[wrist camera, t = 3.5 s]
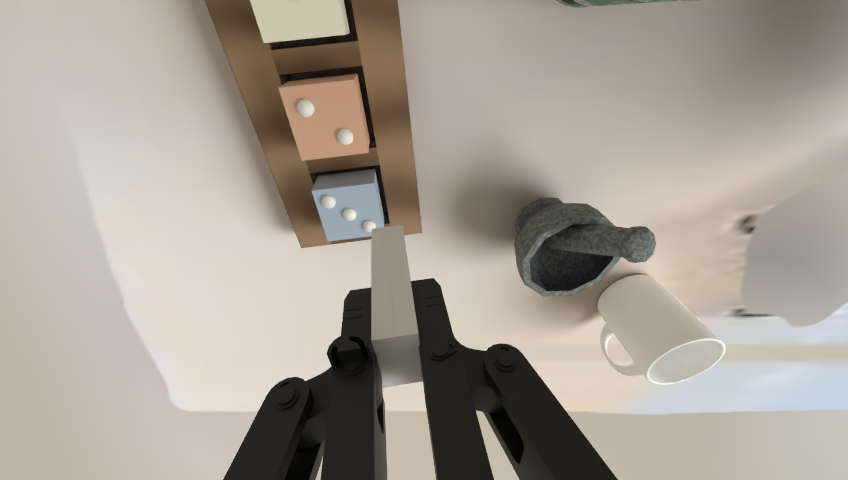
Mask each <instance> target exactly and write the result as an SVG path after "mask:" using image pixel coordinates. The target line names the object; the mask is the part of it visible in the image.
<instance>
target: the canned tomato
mask: <svg viewBox="0 0 848 480" xmlns="http://www.w3.org/2000/svg"><path fill="white" fill-rule="evenodd" d="M557 1H559V2H561V3H562V4H564V5H567V6H571V7H587V6H601V5H617V4H634V3H650V2H665V1H677V0H557ZM682 1H695V0H682Z"/></svg>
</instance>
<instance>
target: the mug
mask: <svg viewBox="0 0 848 480" xmlns="http://www.w3.org/2000/svg"><path fill="white" fill-rule="evenodd" d="M598 311H599V313H600V315H601V316H602V318H603V319H604V321H605V322H606V324H605V326H604V327H603V329H602V331H601V336H600V342H601V347H602V350H603V353H604V355H605V357H606V359H607V360H608V362H609V363H610V365H611V366H612V367H613V368H614V369H616V370H617V371H618V372H620V373H622V374H624V375H627V376H633V377H640V376H645V377H646V378H647V380H649V381H650V382H652V383H654V384H673V383H678V382H681V381H685V380H688V379H690V378H693V377H695V376H697V375H699V374H701V373H703V372H705V371H706V370H708V369H709V368H711V367H712V366H713V365H715V364H716V363H717V362H718V361H719V360H720V359H721V357H722V356H723V354H724V352H725V345H724V343H723V342H722V341H721V340H720V339H719V338H718V337H717V336H716V335H715V334H714V333H713V332H712V331H711V330H710V329H708V328H707V327H706V326H705V325H704V324H703V323H702V322H701V321H700V320H699V319H698V318H697V317H696V316H695V315H694V314H693V313H692V312H691V311H690V310H688V309H687V308H686V307H685V306H684V305H683V304H682V303H681V302H680V301H679V300H678V299H677V298H676V297H675V296H674V295H673V294H672V293H671V292H670V291H668V290H667V289H666V288H665V287H664V286H663V285H662V284H661V283H660V282H659V281H657V280H656V279H654V278H653V277H650V276H647V275H632V276H628V277H625V278H622V279H620V280H618V281H616V282H614V283H613V284H611V285H610V286H609V287H608V288H606V289H605V290H604V292H603V293H602V294H601V296H600V298H599V300H598ZM614 335H615V336H616V337H617V339H618V340H619V341H620V343H621V344H622V346H623V347H624V348H625V350H626V351H627V352H628V354H629V355H630V356H631V358H632V359H633V360H634V363H633V364H631V365H629V366H619V365H617V364H615V363H614V362H613V361H612V360H611V359H610V357H609V356H608V353H607V342H608V340H609V338H610V337H612V336H614Z"/></svg>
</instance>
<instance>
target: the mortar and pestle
mask: <svg viewBox="0 0 848 480" xmlns="http://www.w3.org/2000/svg"><path fill="white" fill-rule="evenodd" d="M515 223H516V231H517V236H516V239H515V243H514V245H515V254H516V262H517V267H518V271H519V274H520V277H521V278H522V280H523V282H524V284H525V285H526V286H528V287H530V288H531V289H533V290H534V291H536V292H537V293H539V294H541V295H542V296H567V295H573V294H575V293H577V292H579V291H581V290H584V289H586V288H588V287H590V286H592V285H594V284H596V283H598V282H600V281H601V280H602V279H603V278H604V276H605V275H606V274H607V273H608V272H609V271H610V270H611V269H612V267H613V266H614V265H615V264H616V263H617V262H618V261H619V260H620V257H624V258H625V259H626V260H628V261H629V262H634V263H638V262H645V261H647V260H648V259H649V258H650V257H651V256H652V255H653V252H654V249H655V245H656V242H655V237H654V233H652V232H651V231H650V230H649V229H648V228H647V227H641V226H639V227H630V228H622V227H616V226H614V225H613V224H612V223H611V222H610V221H609V220H608V219H607V218H606V217H605V216H604V215H603V214H601V213H600V212H599V211H598V210H597V209H595V208H593V207H591V206H589V205H588V204H577V203H563V202H562V201H560V200H559V199H558V198H541V199H539V200H537V201H536V202H534V203H532V204H530V205H529V206H527V207H525V208H524V209H523V211H522V213H521V214H520V216H519V218H518V219H517V221H516V222H515Z"/></svg>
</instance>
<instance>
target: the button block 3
mask: <svg viewBox="0 0 848 480" xmlns="http://www.w3.org/2000/svg"><path fill="white" fill-rule="evenodd" d="M312 194H313V197H314V200H315V203H316V206H317V209H318V213H319V216H320V219H321V222H322V225H323V228H324V231H325V234H326V237H327V240H328V242H329V241H337V240H345V239H353V238H361V237H368V236H372V229H373V228H381V227H384V214H383V209H382V204H381V198H380V193H379V187H378V182H377V177H376V171H375V169H369V170H361V171H352V172H344V173H336V174H328V175H319V176H318V177H317V179H316V181H315V184H314V186H313V188H312Z"/></svg>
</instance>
